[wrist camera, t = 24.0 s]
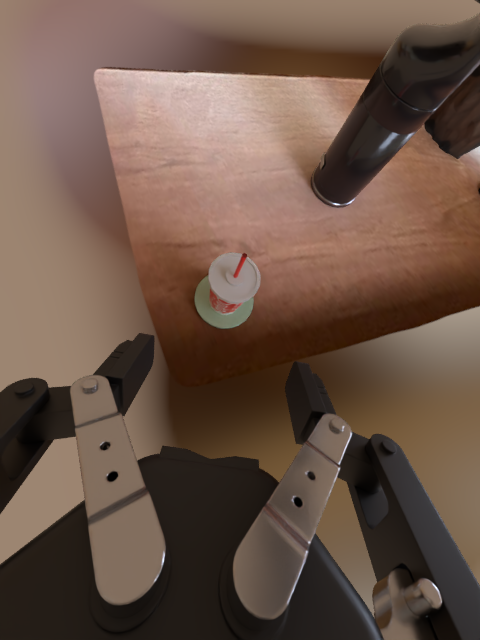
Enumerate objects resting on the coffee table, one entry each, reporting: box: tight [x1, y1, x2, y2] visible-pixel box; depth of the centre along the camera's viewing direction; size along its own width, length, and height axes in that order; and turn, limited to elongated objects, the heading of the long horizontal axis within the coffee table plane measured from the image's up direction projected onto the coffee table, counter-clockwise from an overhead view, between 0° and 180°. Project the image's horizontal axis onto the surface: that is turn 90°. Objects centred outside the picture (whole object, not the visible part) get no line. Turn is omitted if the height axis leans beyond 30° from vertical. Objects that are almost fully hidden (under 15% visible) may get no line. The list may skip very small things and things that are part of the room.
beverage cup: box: [208, 252, 260, 315], centre depth 29 cm, size 6×6×14 cm
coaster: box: [195, 275, 253, 329], centre depth 36 cm, size 9×9×1 cm
